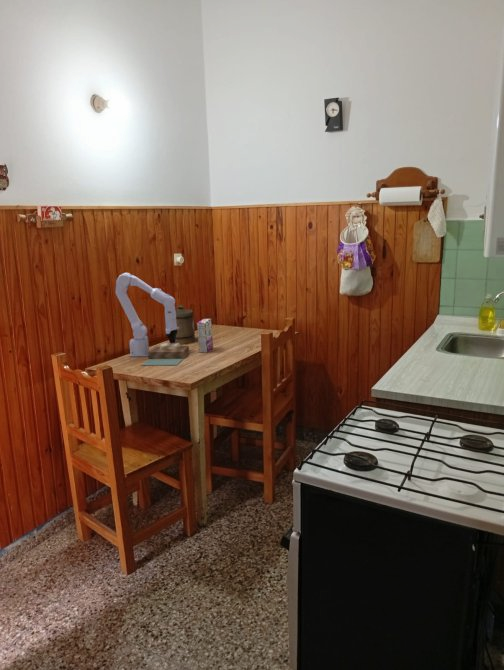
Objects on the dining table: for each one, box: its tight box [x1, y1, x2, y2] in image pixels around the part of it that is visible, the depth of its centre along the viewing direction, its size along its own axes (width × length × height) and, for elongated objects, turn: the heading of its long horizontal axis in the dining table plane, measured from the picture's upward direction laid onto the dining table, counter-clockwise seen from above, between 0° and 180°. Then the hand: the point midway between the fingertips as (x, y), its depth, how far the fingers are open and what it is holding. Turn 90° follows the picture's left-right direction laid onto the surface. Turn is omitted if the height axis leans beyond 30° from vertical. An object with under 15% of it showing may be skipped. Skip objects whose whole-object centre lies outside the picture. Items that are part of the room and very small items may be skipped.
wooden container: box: [175, 304, 196, 345], centre depth 282 cm, size 15×15×22 cm
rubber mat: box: [141, 358, 184, 367], centre depth 239 cm, size 18×11×1 cm, turn 83°
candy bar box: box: [196, 318, 214, 354], centre depth 259 cm, size 11×5×16 cm, turn 168°
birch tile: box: [159, 342, 181, 350], centre depth 252 cm, size 9×6×2 cm, turn 83°
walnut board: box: [148, 345, 190, 360], centre depth 250 cm, size 18×12×4 cm, turn 83°
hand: (172, 344), depth 257 cm, fingers closed
